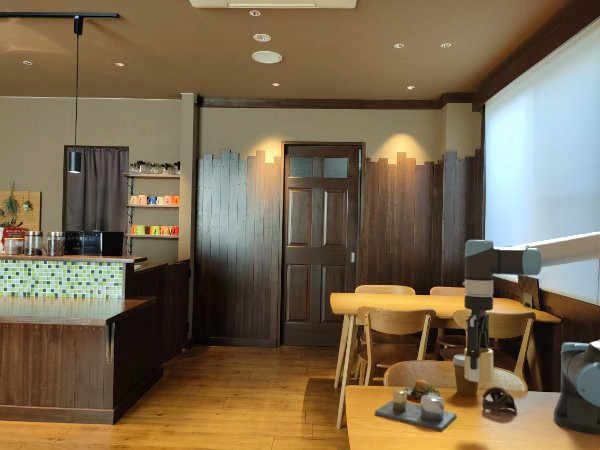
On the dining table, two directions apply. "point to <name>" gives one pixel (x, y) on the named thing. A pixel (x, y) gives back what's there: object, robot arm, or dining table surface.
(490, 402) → the pottery mug
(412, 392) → the burger
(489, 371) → the sleeve
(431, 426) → the plate
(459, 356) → the disposable coffee cup
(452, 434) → the dining table surface
